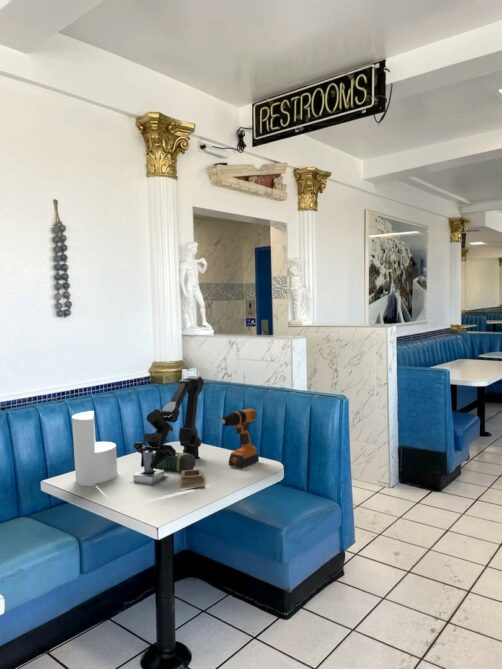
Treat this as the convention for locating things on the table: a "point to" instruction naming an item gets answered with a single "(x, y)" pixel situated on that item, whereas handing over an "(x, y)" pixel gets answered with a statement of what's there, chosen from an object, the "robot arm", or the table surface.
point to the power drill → (242, 438)
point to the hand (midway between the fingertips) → (146, 467)
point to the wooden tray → (192, 479)
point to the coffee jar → (177, 462)
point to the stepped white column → (91, 452)
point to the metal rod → (148, 462)
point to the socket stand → (149, 477)
